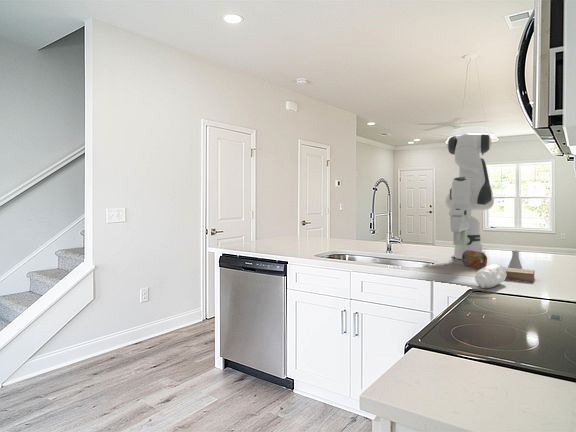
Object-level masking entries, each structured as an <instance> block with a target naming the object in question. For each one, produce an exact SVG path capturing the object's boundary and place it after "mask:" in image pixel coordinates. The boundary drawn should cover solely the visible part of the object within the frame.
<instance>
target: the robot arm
mask: <svg viewBox="0 0 576 432" xmlns="http://www.w3.org/2000/svg"><path fill="white" fill-rule="evenodd" d="M446 147H447V150H448V153H449V154H451V155H454V162H455V164H456V165H457V166H458V167H459V168H458V169H459V170H458V171H459V173H458V174H459V176H458V177H455V178H453V179H452V184H451V188H450V189H449V193H448V194H447V196H446V198H445V205H446V207H447V209H449V211H448V214H449V216H450V219H449V221H450V225H449V226H450V230H451V232H452V233H454V232H455V234H456V240H457V241H460V240H461V232H467V245H454V251H453V254H451V258H454V257H455V258H454V259H458V260H462V255H463V253H464V252H465V251H466V250H469V251H477V252H482V253H484V254H485V251H483V244H482V243H481V241H482V240H481V238H482V237H481V234H480V232H481V231H480V229H481V228H480V227H481V226H480V220H479V219H477V218H476V217H474V216H473V215H472V211H486V210H490V209H491V208H492V207H493V206H494V202H495V198H494V195H493V189H492V187H491V184H490V179H489V173H488V168H487V165H486V162H485V159H484V158H483V157H481V156H484V154H486V153H488V151H490V148H491V147H492V138H491V136H490V135H489V134H488V133H487V132H486V133H485V132H484V133H483V132H482V133H464V134H461V135H453V136H451V137H450V138H448V141H447V146H446ZM480 154H481V156H480Z"/></svg>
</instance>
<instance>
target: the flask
mask: <svg viewBox="0 0 576 432" xmlns="http://www.w3.org/2000/svg"><path fill="white" fill-rule="evenodd" d="M511 252H512V254H511V259H510V261H509V264H508V265H507V268H517V269H523V266H522V264H521V260H520V257H519V256H520V255H519V253H520V251H519V250H513V249H512V250H511Z"/></svg>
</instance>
